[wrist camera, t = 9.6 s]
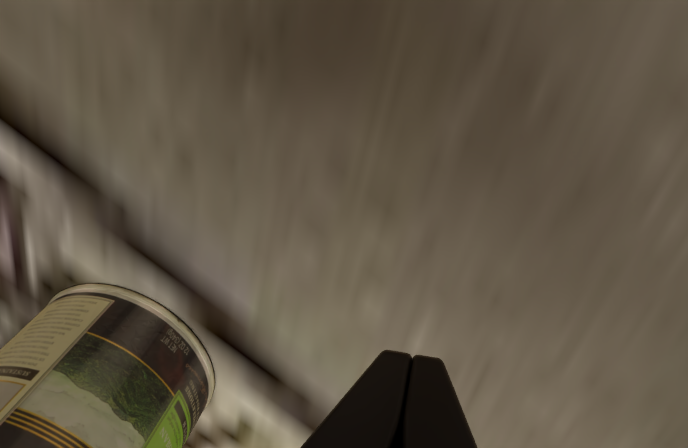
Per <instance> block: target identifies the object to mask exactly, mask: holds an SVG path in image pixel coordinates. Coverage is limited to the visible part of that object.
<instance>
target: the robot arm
mask: <svg viewBox="0 0 688 448" xmlns="http://www.w3.org/2000/svg"><path fill="white" fill-rule="evenodd" d="M301 448H477V445H476V443H475V440H474V438H473V435H472V433H471V430H470V428H469V425H468V423H467V420H466V418H465V415H464V413H463V410H462V408H461V405H460V403H459V400H458V397H457V395H456V392H455V390H454V387H453V385H452V382H451V380H450V377H449V375H448V372H447V370H446V367H445V365H444V363H443V361H442V360H441V359H439V358H435V357H428V356H422V355H415V356H414V357H413V358H412V357H411V355H410V354H408V353H404V352H398V351H391V350H384V351H382V352H381V353H380V354H379V355H378V357H377V358H376V359H375V360H374V361H373V363H372V364H371V365H370V366H369V367H368V368H367V370H366V371H365V372H364V373H363V374H362V376H361V377H360V378H359V379H358V380H357V381H356V383H355V384H354V385H353V386H352V387H351V389H350V390H349V391H348V392H347V393H346V394H345V396H344V397H343V398H342V399H341V400H340V402H339V403H338V404H337V405H336V406H335V408H334V409H333V410H332V411H331V412H330V413H329V415H328V416H327V417H326V418H325V419H324V421H323V422H322V423H321V424H320V425H319V426H318V428H317V429H316V430H315V431H314V432H313V434H312V435H311V436H310V437H309V438H308V439H307V441H306V442H305V443H304V444H303V445H302V447H301Z"/></svg>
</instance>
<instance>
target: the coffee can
mask: <svg viewBox="0 0 688 448" xmlns="http://www.w3.org/2000/svg"><path fill="white" fill-rule="evenodd" d="M214 387H215V380H214V373H213V368H212V364H211V361H210V359H209V357H208V355H207V353H206V351H205V349H204V347H203V346H202V344H201V343H200V341H199V340H198V339H197V337H196V336H195V335H194V334H193V332H192V331H191V330H190V329H189V328H188V327H187V326H186V325H185V324H184V323H183V322H182V321H181V320H179V319H178V318H177V317H176V316H175V315H173V314H172V313H171V312H170V311H168V310H167V309H166V308H164V307H163V306H162V305H160V304H158V303H156V302H155V301H153V300H151V299H149V298H147V297H145V296H143V295H141V294H138V293H136V292H133V291H130V290H127V289H124V288H121V287H117V286H111V285H105V284H84V285H77V286H74V287H70V288H68V289H65V290H63V291H61V292H59V293H58V294H57V295H55V296H54V297H53V298H52V300H51V301H50V302H49V303H48V305H47V306H46V307H45V308H44V309H43V310H42V311H41V312H40V313H39V314H38V315H37V316H36V317H35V318H34V319H32V320H31V321H30V322H29V323H28V324H27V325H26V326H25V327H24V328H23V329H22V330H21V331H20V332H19V333H18V334H17V335H16V336H14V337H13V338H12V339H11V340H10V341H9V342H8V343H7V344H6V345H5V346H3V347H2V348H1V349H0V448H182V447H183V446H184V444H185V442H186V440H187V438H188V437H189V435H190V433H191V431H192V429H193V428H194V426H195V424H196V422H197V421H198V419H199V417H200V415H201V413H202V412H203V410H204V409H205V408H206V406H207V405H208V403H209V402H210V400H211V397H212V395H213V391H214Z"/></svg>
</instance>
